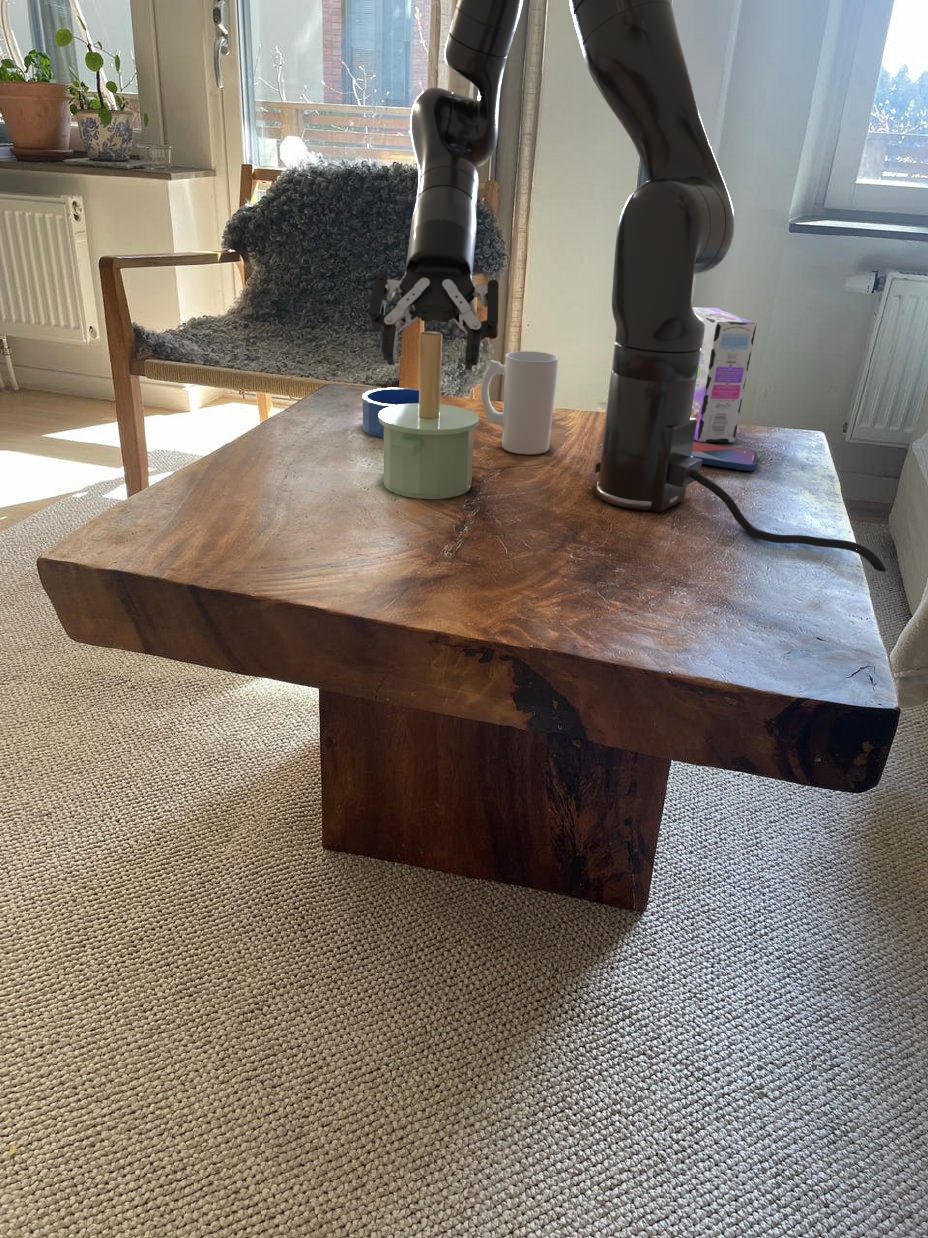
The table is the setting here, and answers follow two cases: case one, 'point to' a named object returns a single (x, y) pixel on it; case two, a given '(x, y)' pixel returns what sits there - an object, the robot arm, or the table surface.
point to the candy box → (721, 374)
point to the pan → (384, 406)
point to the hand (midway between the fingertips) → (429, 363)
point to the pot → (428, 464)
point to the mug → (524, 400)
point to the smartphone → (725, 456)
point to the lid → (429, 399)
